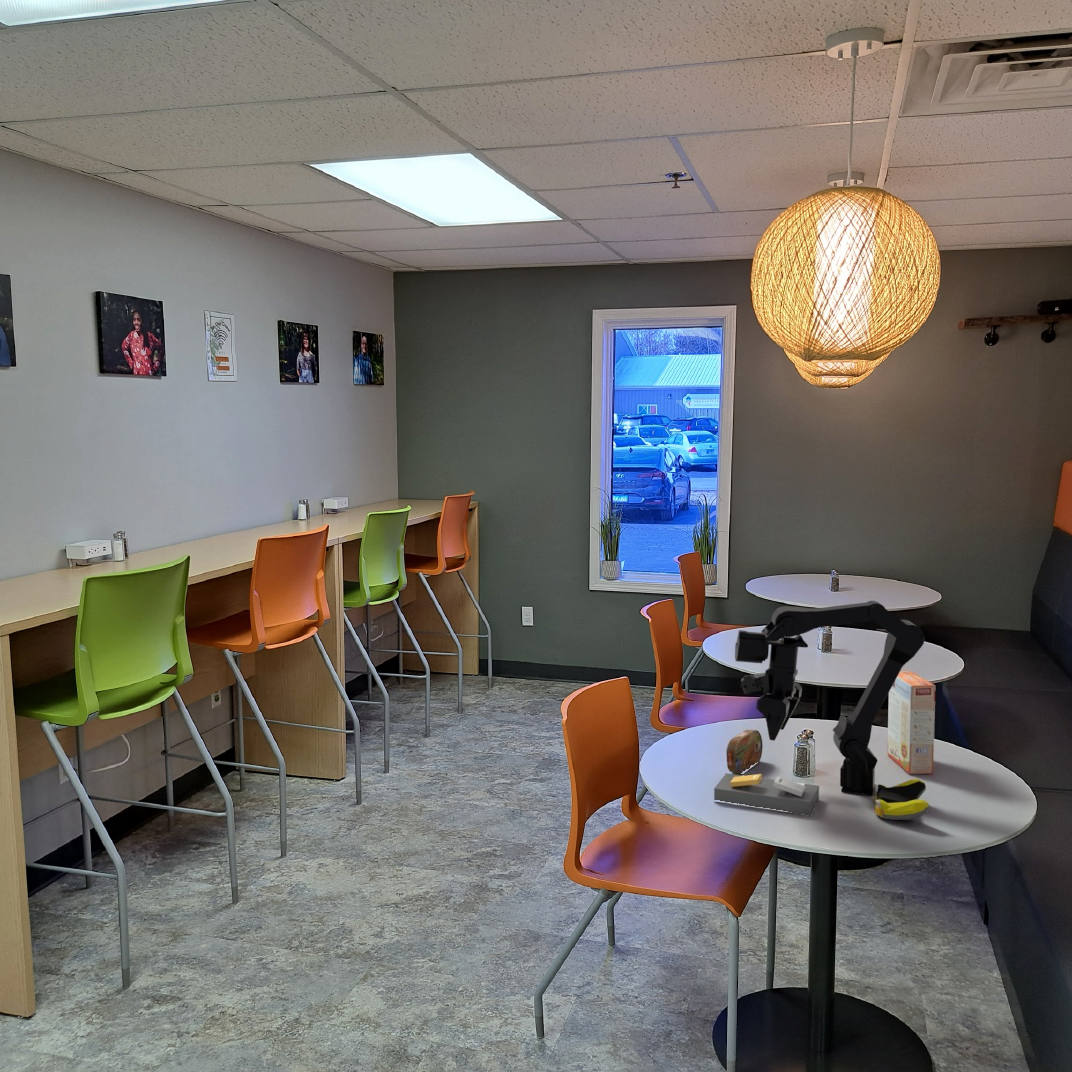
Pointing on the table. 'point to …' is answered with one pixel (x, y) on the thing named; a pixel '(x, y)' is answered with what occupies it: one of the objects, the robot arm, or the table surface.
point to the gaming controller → (901, 800)
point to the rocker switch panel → (767, 795)
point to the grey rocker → (789, 786)
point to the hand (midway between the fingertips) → (776, 734)
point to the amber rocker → (746, 780)
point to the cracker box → (911, 723)
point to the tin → (744, 751)
